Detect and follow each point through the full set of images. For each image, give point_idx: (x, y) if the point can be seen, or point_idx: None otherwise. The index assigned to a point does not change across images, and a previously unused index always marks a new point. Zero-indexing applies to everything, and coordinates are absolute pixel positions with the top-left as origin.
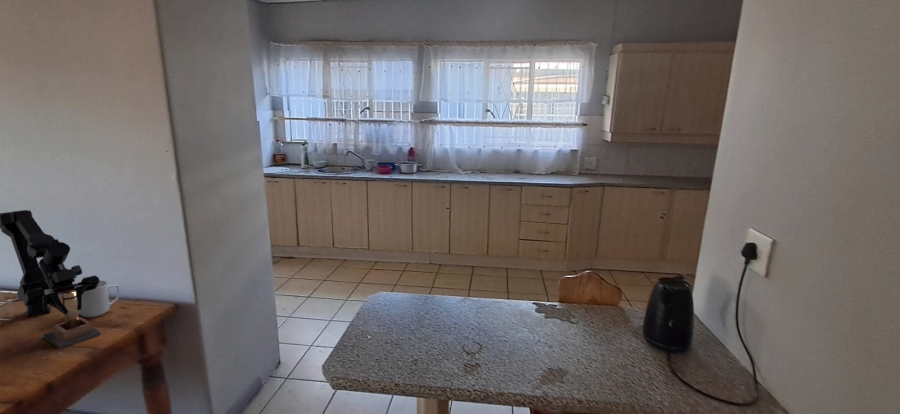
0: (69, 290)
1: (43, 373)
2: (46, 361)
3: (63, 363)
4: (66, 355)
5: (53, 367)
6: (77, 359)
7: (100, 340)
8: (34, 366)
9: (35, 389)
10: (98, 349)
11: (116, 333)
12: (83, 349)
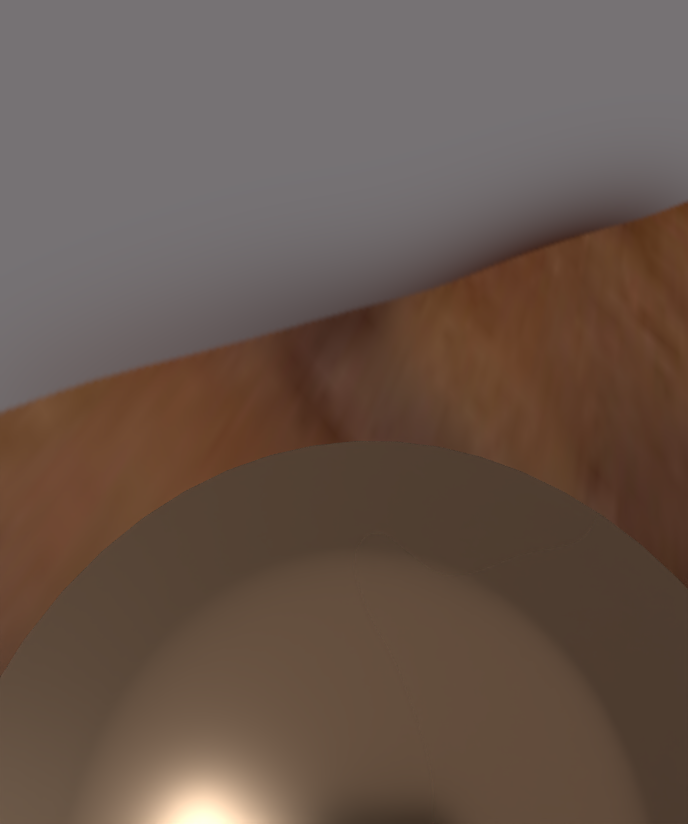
0: None
1: (631, 309)
2: (603, 440)
3: (522, 330)
4: (480, 418)
5: (577, 330)
6: (445, 312)
7: (202, 456)
8: (673, 432)
9: (672, 207)
10: (296, 331)
11: (35, 478)
12: (363, 412)
